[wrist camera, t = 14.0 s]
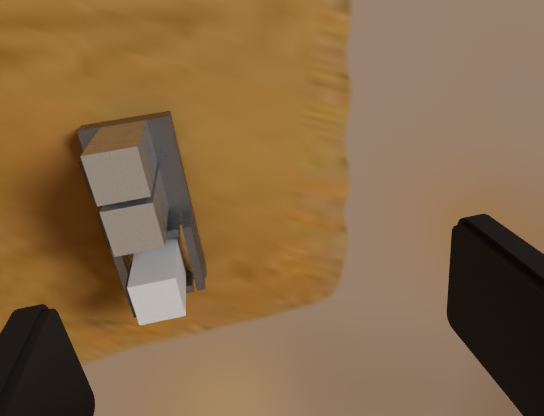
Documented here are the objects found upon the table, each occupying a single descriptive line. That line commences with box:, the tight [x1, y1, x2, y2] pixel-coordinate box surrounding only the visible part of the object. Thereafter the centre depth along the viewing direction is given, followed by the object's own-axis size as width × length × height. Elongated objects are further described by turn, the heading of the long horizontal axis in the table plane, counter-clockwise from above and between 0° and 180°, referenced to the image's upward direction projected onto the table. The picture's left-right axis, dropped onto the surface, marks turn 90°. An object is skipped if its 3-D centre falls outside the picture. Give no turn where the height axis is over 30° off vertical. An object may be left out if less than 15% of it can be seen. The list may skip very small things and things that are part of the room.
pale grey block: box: [125, 237, 186, 325], centre depth 41 cm, size 4×4×8 cm
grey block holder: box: [77, 111, 207, 305], centre depth 39 cm, size 17×8×10 cm, turn 7°
